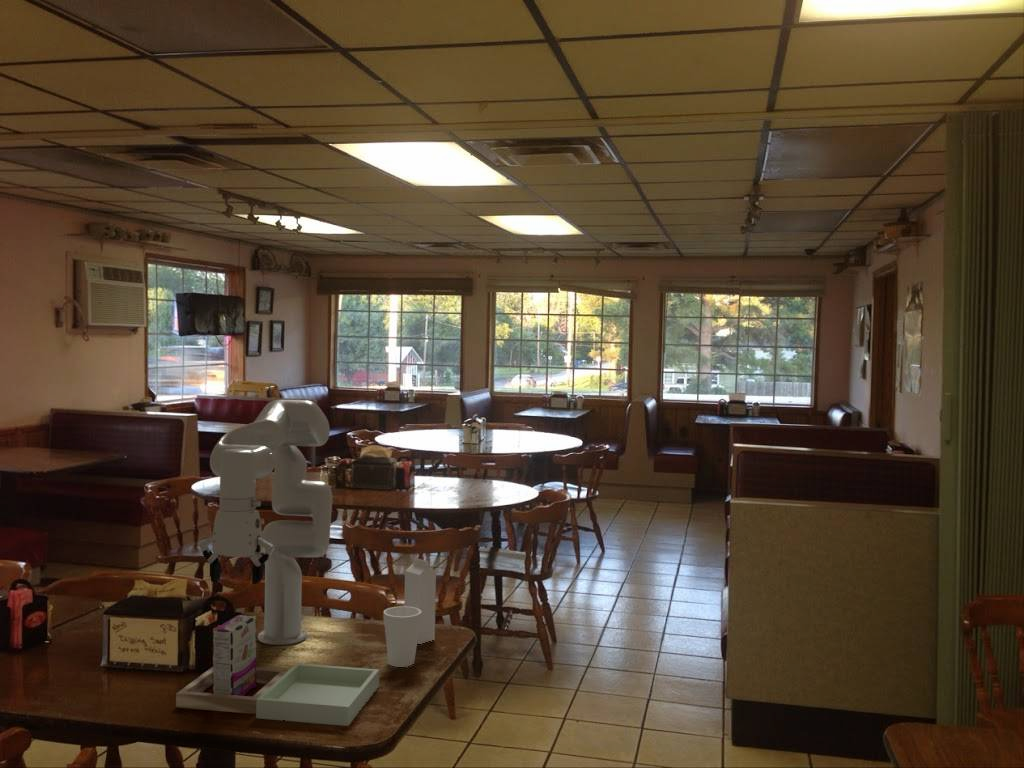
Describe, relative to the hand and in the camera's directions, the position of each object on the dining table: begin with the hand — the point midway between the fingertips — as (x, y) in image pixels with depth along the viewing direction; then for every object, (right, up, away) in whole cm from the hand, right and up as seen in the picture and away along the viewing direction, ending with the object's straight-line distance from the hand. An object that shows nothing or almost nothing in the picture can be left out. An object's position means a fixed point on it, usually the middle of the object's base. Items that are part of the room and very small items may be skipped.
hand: (236, 581), depth 196 cm
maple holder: (-1, -26, +1) cm, 26 cm away
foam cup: (+34, -26, +23) cm, 49 cm away
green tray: (+19, -26, -2) cm, 32 cm away
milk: (+36, -25, +41) cm, 61 cm away
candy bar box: (-1, -26, +1) cm, 26 cm away
